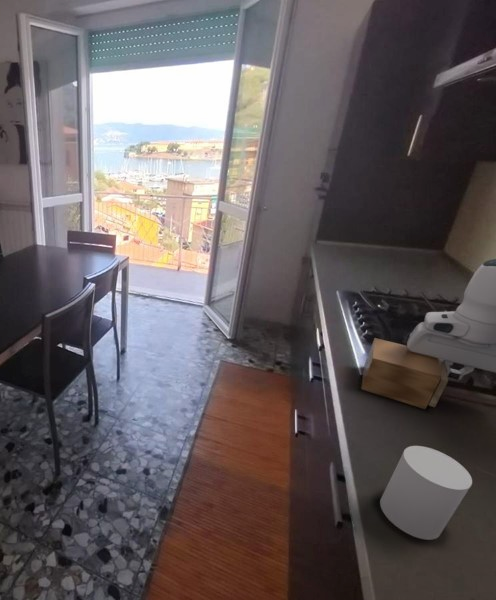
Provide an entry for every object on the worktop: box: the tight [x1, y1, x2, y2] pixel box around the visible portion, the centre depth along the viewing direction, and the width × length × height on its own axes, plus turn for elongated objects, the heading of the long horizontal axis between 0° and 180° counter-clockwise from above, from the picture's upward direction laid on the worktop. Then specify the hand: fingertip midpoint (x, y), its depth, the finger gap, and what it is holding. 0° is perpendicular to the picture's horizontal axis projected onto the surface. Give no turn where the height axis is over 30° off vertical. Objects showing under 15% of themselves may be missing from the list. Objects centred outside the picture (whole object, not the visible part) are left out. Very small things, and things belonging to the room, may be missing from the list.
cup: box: [379, 445, 473, 541], centre depth 59 cm, size 8×8×12 cm
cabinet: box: [360, 337, 441, 410], centre depth 90 cm, size 13×12×10 cm
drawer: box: [427, 358, 449, 408], centre depth 88 cm, size 13×10×8 cm
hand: (451, 377), depth 86 cm, fingers closed
